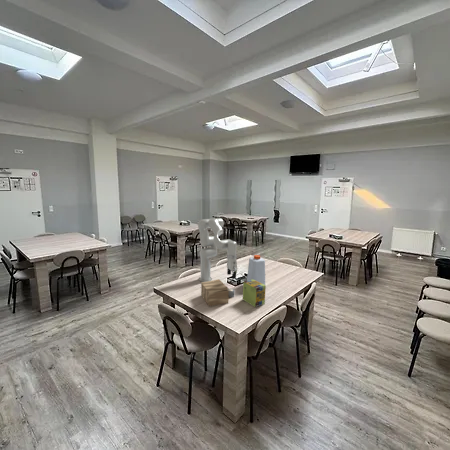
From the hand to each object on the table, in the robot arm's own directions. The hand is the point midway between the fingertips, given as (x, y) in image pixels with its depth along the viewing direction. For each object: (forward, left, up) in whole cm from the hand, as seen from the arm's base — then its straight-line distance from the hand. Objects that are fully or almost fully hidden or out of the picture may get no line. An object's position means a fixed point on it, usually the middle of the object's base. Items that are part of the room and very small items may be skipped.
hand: (231, 276), depth 198 cm
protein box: (+15, +13, -18) cm, 27 cm away
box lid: (0, -15, -6) cm, 16 cm away
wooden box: (0, -15, -17) cm, 23 cm away
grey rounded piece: (-1, 0, -17) cm, 17 cm away
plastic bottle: (-14, +32, -18) cm, 39 cm away
